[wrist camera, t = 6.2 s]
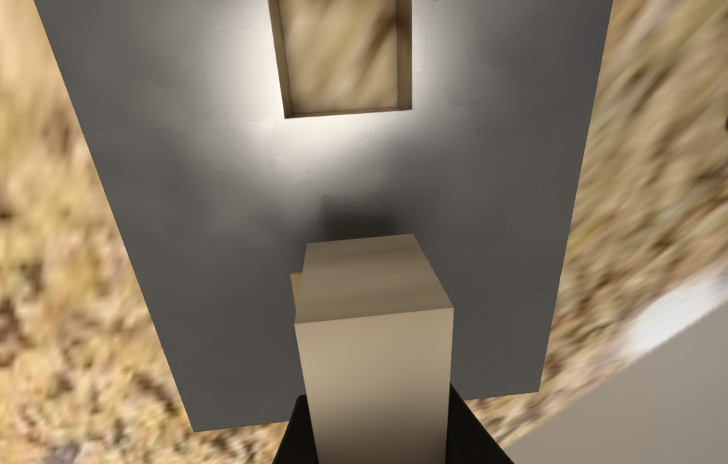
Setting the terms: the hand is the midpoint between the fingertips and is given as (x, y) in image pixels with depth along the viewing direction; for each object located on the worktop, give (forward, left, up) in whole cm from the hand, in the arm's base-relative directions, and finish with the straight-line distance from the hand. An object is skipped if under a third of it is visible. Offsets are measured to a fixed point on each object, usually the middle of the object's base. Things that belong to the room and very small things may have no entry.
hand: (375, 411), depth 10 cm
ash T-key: (0, 0, -4) cm, 4 cm away
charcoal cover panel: (0, -5, -7) cm, 8 cm away
